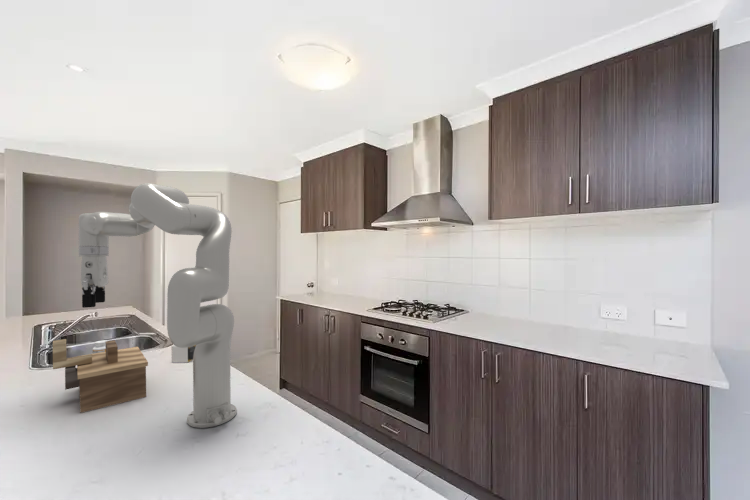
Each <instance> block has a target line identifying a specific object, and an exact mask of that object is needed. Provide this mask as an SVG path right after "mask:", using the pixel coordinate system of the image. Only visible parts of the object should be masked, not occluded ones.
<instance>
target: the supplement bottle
mask: <svg viewBox="0 0 750 500" xmlns="http://www.w3.org/2000/svg"><path fill="white" fill-rule="evenodd" d="M106 341H108V340H107V339H105V340H104V339H103V340H98V341H95V342H94V346H93V347H92V354H94V353H100V352H106Z"/></svg>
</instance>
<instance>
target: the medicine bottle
mask: <svg viewBox="0 0 750 500" xmlns="http://www.w3.org/2000/svg"><path fill="white" fill-rule="evenodd" d="M170 347H171V363H173V364H174V363H175V364H176V363H177V364H179V363H180V364H181V363H182V364H185V363H187V364H188V363H189V362H190V363H191V362H193V356H194V351H195V347H196V345H195V346H192V347H188V348H180V347H177V346H175V345H174V344H173V345H171V346H170Z"/></svg>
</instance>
